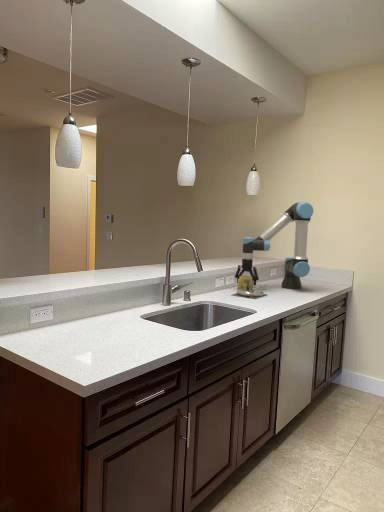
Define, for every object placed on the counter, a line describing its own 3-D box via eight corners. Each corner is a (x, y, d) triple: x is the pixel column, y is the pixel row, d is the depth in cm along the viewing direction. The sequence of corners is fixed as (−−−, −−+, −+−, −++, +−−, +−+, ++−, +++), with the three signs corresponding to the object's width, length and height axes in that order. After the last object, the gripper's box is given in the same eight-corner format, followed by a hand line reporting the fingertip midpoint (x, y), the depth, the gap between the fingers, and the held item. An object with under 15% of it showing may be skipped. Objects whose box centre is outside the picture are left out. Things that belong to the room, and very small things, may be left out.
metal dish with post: (231, 292, 266) (231, 279, 265) (250, 290, 276) (251, 278, 275) (249, 297, 251) (249, 283, 251) (269, 295, 261) (269, 281, 261)
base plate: (244, 291, 276) (244, 290, 276) (267, 295, 266) (267, 293, 266) (230, 295, 261) (231, 294, 261) (255, 299, 251) (255, 297, 251)
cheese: (237, 290, 279) (237, 276, 279) (241, 288, 289) (241, 275, 288) (251, 292, 275) (251, 278, 275) (254, 289, 285) (255, 276, 284)
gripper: (230, 257, 284) (229, 287, 286) (259, 260, 270) (258, 291, 272) (235, 257, 290) (234, 286, 292) (264, 259, 276) (263, 290, 278)
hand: (246, 288), depth 282 cm, fingers closed on cheese, 11 cm apart
